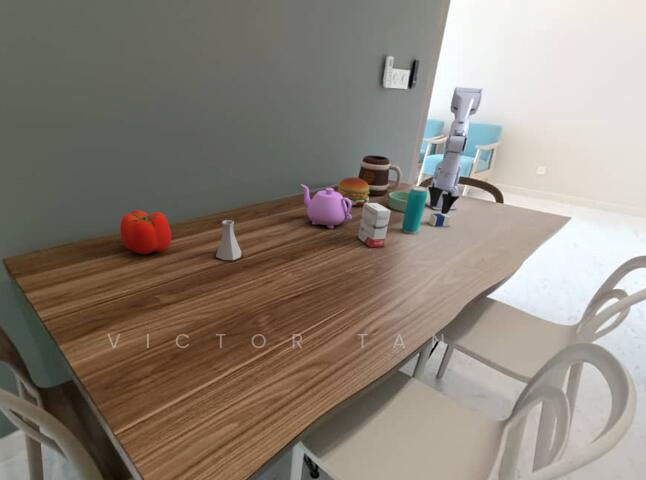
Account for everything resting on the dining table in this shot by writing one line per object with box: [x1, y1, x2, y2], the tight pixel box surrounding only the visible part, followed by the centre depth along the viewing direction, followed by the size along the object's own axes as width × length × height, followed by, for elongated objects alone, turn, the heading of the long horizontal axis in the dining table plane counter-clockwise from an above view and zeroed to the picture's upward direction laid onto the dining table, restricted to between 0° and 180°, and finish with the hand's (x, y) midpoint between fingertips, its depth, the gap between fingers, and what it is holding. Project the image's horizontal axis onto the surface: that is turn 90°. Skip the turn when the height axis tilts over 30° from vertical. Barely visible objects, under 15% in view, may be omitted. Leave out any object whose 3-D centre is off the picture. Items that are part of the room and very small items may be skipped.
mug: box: [357, 155, 403, 197], centre depth 174 cm, size 20×15×15 cm
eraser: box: [428, 213, 451, 227], centre depth 144 cm, size 6×4×4 cm, turn 103°
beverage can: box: [401, 185, 428, 235], centre depth 133 cm, size 6×6×15 cm
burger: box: [337, 177, 370, 206], centre depth 160 cm, size 13×14×10 cm
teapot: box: [300, 183, 353, 229], centre depth 137 cm, size 20×14×12 cm
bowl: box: [387, 191, 410, 213], centre depth 160 cm, size 14×14×4 cm
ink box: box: [358, 202, 392, 248], centre depth 123 cm, size 8×5×12 cm, turn 20°
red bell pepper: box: [119, 210, 172, 256], centre depth 109 cm, size 14×13×10 cm
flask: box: [215, 219, 242, 261], centre depth 109 cm, size 7×7×10 cm
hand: (438, 210), depth 145 cm, fingers open, 7 cm apart
